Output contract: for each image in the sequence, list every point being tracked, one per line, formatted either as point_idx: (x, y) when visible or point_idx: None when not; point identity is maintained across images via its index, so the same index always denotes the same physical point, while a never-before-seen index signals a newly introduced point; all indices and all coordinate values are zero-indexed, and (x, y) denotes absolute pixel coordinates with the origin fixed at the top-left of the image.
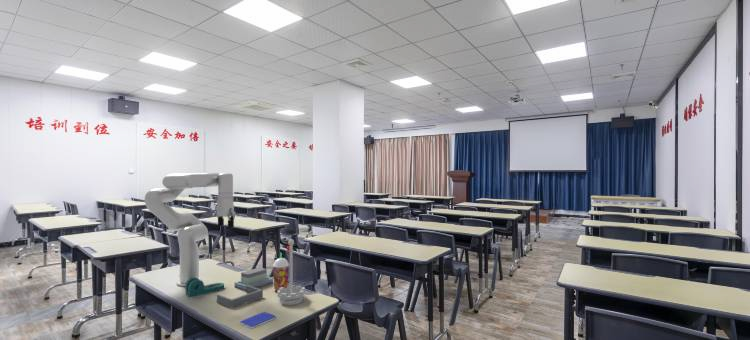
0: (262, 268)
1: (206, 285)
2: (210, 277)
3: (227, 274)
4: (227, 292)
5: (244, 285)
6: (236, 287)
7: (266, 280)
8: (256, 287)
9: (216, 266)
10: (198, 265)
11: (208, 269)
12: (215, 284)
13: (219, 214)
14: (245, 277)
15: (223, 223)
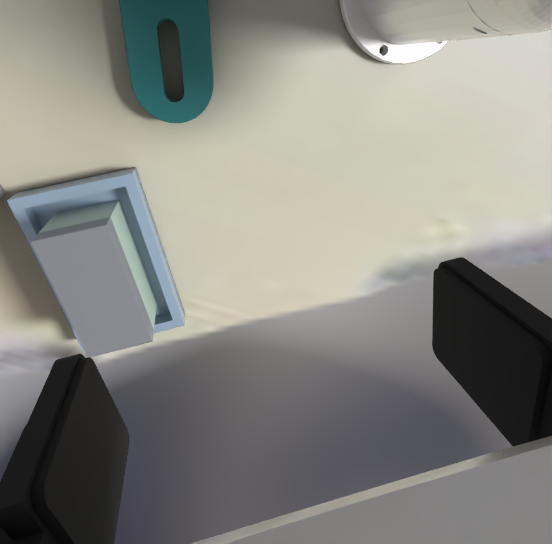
0: (119, 345)
1: (204, 18)
2: (401, 125)
3: (380, 214)
4: (62, 101)
5: (39, 199)
6: (115, 172)
7: (65, 316)
8: None
9: (547, 215)
10: (424, 27)
11: (538, 166)
12: (187, 74)
13: (515, 525)
14: (61, 227)
15: (451, 370)
